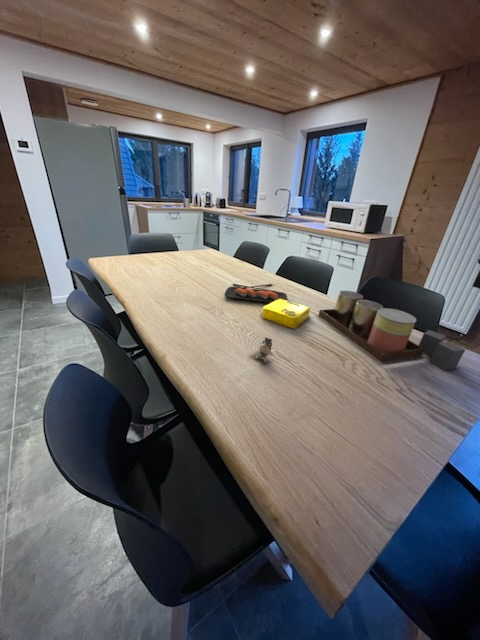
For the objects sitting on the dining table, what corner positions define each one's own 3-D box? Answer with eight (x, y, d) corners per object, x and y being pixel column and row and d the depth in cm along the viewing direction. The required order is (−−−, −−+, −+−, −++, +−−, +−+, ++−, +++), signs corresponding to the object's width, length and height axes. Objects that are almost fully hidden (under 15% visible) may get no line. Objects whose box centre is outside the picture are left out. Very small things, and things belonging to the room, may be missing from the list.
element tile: (309, 317, 109) (312, 306, 107) (294, 329, 98) (296, 318, 96) (278, 307, 117) (279, 296, 115) (260, 317, 106) (261, 306, 104)
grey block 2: (455, 368, 83) (465, 349, 80) (444, 370, 81) (454, 351, 78) (440, 359, 87) (449, 341, 84) (429, 361, 85) (438, 342, 82)
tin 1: (360, 323, 106) (368, 298, 101) (342, 325, 103) (349, 299, 98) (345, 314, 113) (352, 290, 109) (328, 315, 110) (334, 290, 106)
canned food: (409, 350, 89) (422, 318, 84) (393, 360, 83) (407, 326, 78) (377, 335, 97) (387, 305, 92) (360, 343, 91) (370, 312, 85)
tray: (420, 357, 87) (424, 349, 86) (380, 364, 82) (383, 355, 80) (351, 314, 116) (353, 307, 114) (318, 316, 110) (319, 309, 109)
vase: (262, 350, 84) (264, 333, 81) (276, 357, 81) (279, 340, 78) (251, 356, 80) (253, 339, 77) (266, 364, 77) (269, 346, 74)
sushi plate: (222, 299, 120) (223, 291, 118) (233, 280, 146) (233, 274, 145) (287, 307, 117) (288, 299, 115) (285, 286, 144) (286, 280, 142)
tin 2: (379, 335, 97) (389, 308, 92) (359, 338, 94) (368, 310, 90) (362, 324, 105) (370, 299, 100) (343, 326, 102) (351, 300, 97)
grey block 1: (437, 353, 90) (446, 335, 87) (432, 358, 87) (441, 339, 84) (421, 347, 94) (429, 329, 91) (416, 351, 91) (423, 333, 88)
